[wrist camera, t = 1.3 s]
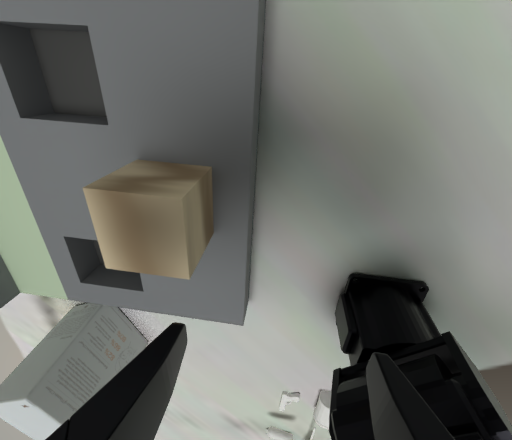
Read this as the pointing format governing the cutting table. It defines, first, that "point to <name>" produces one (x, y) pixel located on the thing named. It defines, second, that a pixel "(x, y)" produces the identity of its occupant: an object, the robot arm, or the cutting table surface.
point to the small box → (68, 368)
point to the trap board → (126, 140)
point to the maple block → (153, 217)
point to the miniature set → (320, 414)
